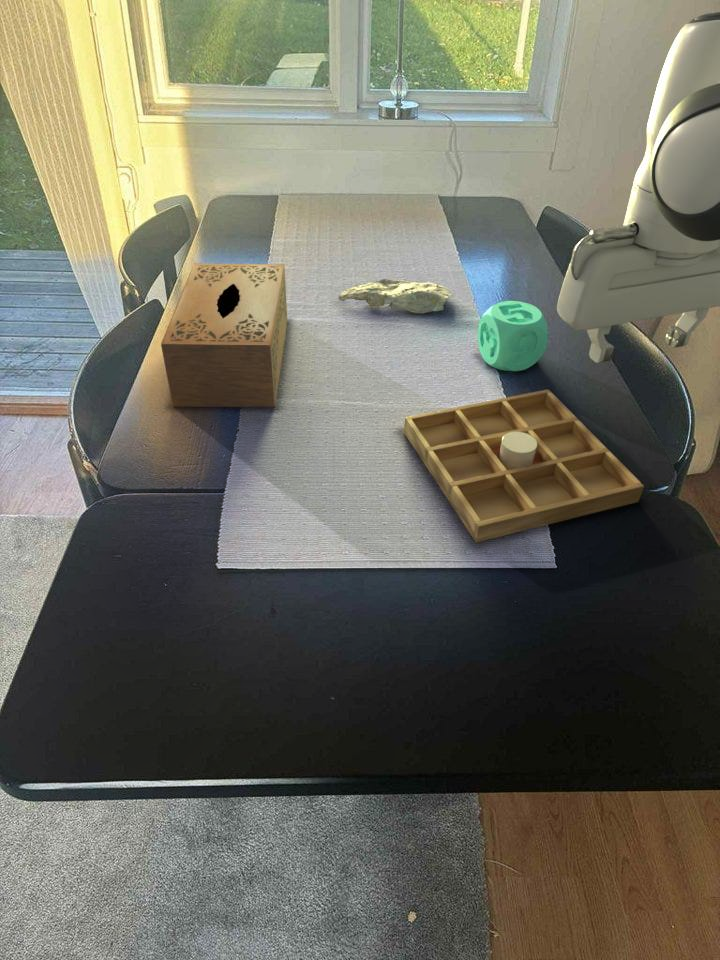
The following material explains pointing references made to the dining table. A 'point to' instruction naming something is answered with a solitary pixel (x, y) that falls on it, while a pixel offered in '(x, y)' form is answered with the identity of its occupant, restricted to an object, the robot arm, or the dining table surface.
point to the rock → (400, 295)
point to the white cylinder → (517, 450)
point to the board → (526, 490)
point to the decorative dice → (512, 335)
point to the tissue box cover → (227, 336)
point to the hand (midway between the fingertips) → (637, 352)
